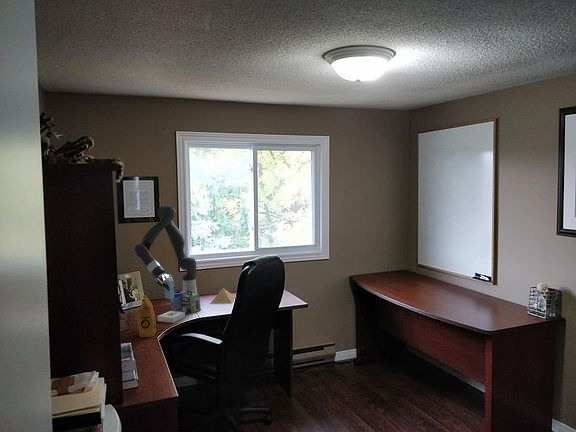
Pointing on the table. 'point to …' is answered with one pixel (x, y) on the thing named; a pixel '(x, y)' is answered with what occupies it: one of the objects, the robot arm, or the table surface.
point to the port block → (171, 317)
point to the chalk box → (190, 303)
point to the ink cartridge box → (177, 301)
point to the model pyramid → (223, 298)
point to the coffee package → (146, 319)
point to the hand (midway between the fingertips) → (171, 288)
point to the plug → (170, 283)
